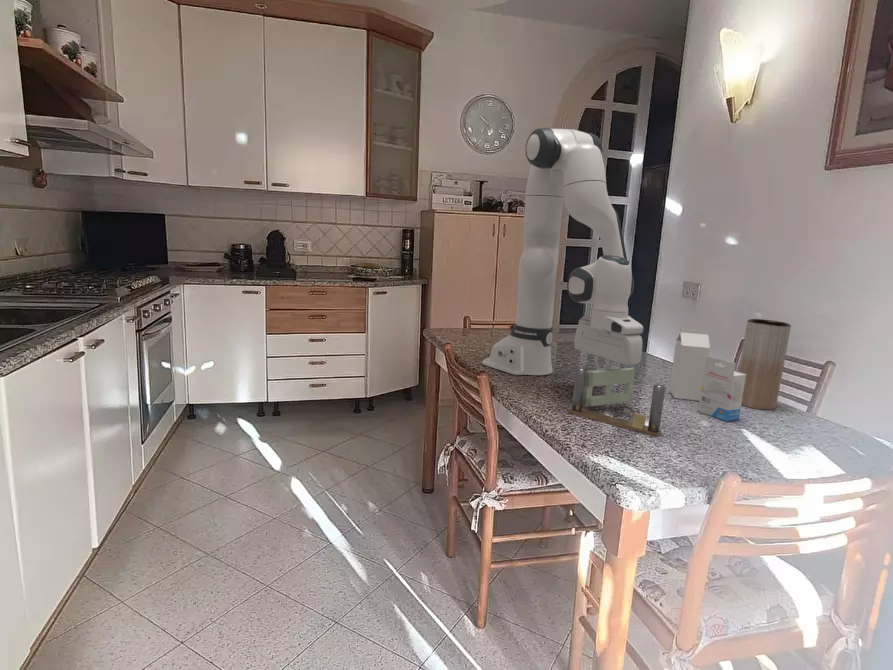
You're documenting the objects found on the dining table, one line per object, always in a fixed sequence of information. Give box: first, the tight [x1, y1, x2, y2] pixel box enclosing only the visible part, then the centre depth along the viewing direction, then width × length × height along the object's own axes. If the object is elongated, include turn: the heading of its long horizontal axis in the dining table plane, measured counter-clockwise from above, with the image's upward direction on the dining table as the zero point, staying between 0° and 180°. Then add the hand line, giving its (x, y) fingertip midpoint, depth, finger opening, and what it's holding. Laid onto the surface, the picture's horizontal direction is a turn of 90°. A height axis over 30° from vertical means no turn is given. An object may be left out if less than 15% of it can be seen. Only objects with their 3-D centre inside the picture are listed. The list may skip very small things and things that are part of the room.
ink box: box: [697, 355, 746, 422], centre depth 135 cm, size 8×5×15 cm, turn 26°
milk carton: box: [669, 327, 711, 402], centre depth 149 cm, size 7×7×19 cm
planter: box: [738, 318, 792, 411], centre depth 145 cm, size 10×10×23 cm
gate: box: [582, 367, 636, 408], centre depth 135 cm, size 15×1×8 cm, turn 116°
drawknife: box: [568, 366, 666, 437], centre depth 125 cm, size 21×3×11 cm, turn 51°
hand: (602, 374), depth 139 cm, fingers closed
